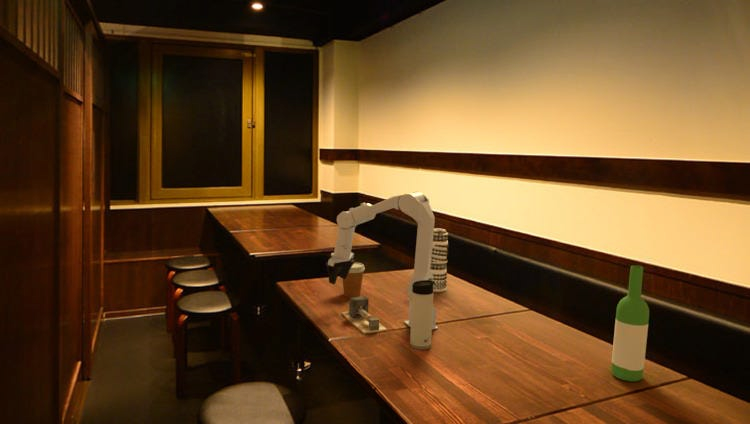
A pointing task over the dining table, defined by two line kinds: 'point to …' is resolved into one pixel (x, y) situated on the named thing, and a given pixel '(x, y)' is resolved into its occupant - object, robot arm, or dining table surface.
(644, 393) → the dining table surface
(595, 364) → the dining table surface
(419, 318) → the travel mug
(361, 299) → the grey notched block
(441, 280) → the decorative candle
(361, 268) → the disposable coffee cup
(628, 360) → the wine bottle
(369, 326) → the pipe stand
